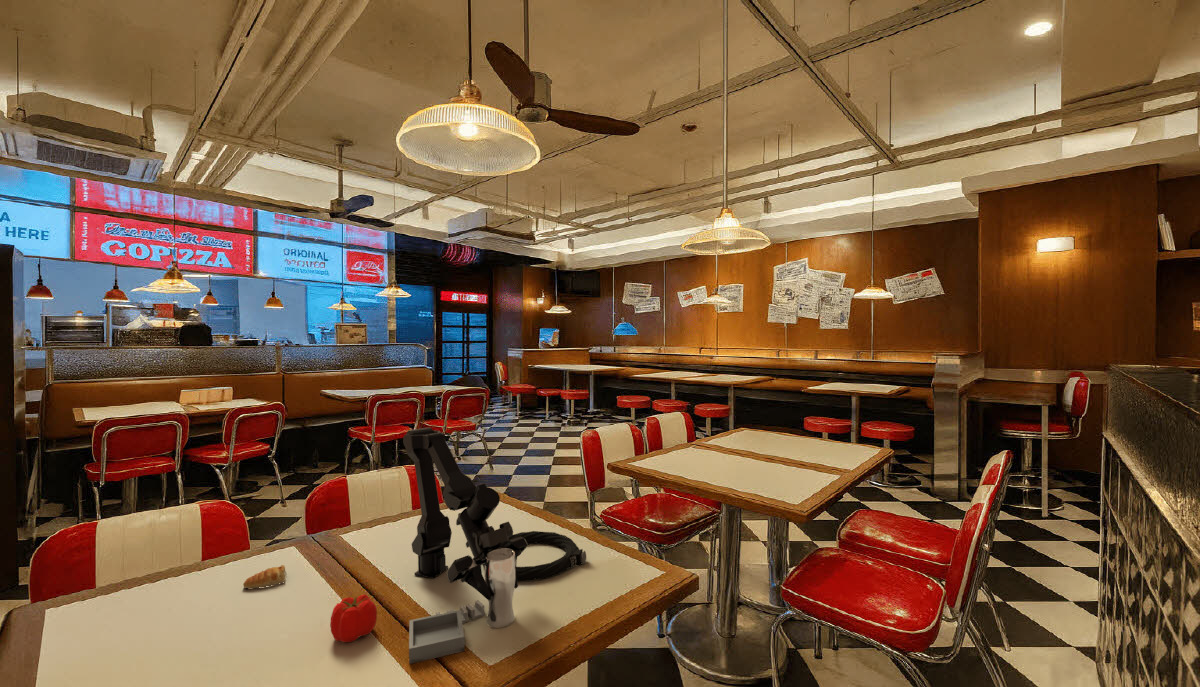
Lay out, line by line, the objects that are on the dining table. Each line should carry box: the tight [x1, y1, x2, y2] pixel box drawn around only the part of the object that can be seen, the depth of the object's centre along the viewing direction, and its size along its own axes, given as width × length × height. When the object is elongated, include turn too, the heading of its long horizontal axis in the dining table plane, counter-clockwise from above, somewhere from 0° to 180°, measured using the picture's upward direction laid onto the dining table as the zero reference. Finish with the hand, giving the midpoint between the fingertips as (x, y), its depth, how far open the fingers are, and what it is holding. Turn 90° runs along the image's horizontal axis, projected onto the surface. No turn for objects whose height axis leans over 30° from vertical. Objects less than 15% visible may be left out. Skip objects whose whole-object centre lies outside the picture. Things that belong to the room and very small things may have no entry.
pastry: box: [243, 564, 287, 589], centre depth 129 cm, size 9×7×4 cm
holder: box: [408, 609, 465, 665], centre depth 102 cm, size 10×10×3 cm
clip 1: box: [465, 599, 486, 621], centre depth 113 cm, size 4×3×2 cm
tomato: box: [330, 594, 378, 643], centre depth 105 cm, size 9×9×8 cm
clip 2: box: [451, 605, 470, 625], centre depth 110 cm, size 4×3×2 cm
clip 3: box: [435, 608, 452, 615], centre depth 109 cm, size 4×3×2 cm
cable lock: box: [482, 530, 587, 582], centre depth 140 cm, size 28×4×30 cm
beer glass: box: [484, 548, 517, 629], centre depth 110 cm, size 7×7×15 cm
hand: (503, 593), depth 109 cm, fingers closed on beer glass, 7 cm apart
